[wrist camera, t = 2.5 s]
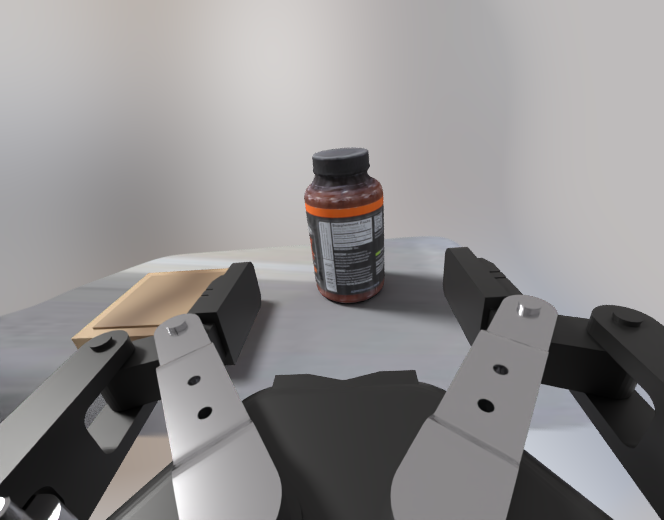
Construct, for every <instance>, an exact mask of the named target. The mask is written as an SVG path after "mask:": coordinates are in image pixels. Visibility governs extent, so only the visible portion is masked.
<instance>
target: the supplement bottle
mask: <svg viewBox="0 0 664 520" xmlns="http://www.w3.org/2000/svg"><path fill="white" fill-rule="evenodd" d="M312 159H313V172H314V174H315V178H314V180H313V182H312V184H311V185H309V186H308V188H307V189H306V192H305V196H304V199H305V206H306V214H307V221H308V229H309V236H310V241H311V249H312V256H313V264H314V270H315V278H316V282H317V287H318V290H319V291H320V293H321V294H322V295H323V296H324V297H326V298H328V299H330V300H333V301H336V302H341V303H353V302H354V303H355V302H360V301H364V300H368V299H369V298H371V297H373V296H374V295H376V294H377V293H378V292H379V291H380V290H381V289H382V287H383V284H384V218H383V217H384V213H383V211H384V206H383V190H382V186H381V184H380V183H379V182H378V181H377V180H376V179H374V178H372V177H370V176H369V175H368V174H367V170H368V168H369V167H370V164H369V154H368V150H367V149H364V148H340V149H332V150H326V151H321V152H318V153H315V154H314V155H313V157H312Z"/></svg>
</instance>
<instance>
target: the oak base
mask: <svg viewBox="0 0 664 520" xmlns="http://www.w3.org/2000/svg"><path fill="white" fill-rule="evenodd" d="M228 269H229V268H227V269H210V270H193V271H176V272H159V273H148V274H147V275H146V276H145V277H144V278H142V279H141V280H140V281H139V282H138V283H136V284H135V285H134V286H133V287H132V288H131V289H129V290H128V291H127V292H126V293H125V294H123V295H122V296H121V297H120V298H119V299H118V300H116V301H115V302H114V303H113V304H112V305H110V306H109V307H108V308H107V309H106V310H105V311H103V312H102V313H101V314H100V315H99V316H97V317H96V318H95V319H94V320H93V321H92V322H90V323H89V324H88V325H87V326H86V327H84V328H83V329H82V330H81V331H80V332H79V333H77V334H76V335H75V336H74V337H73V338H71V339H72V341H73V342H74V344H75V345H76V347H77V348H78V349H79V348H80V347H81V346H82V345H84V344H85V343H86V342H88V341H89V340H91V339H92V338H94V337H96V336H98V335H101V334H103V333H106V332H109V331H114V330H123V331H126V332H127V333H128V335H129V337H130V339H131V341H134V340H138V339H142V338H146V337H150V336H154V332H155V330H156V329H157V327H158V326H159V325H160V324H162V323H163V322H165V321H166V320H168V319H170V318H172V317H174V316H177V315H181V314H187V313H188V311H189V310H190V309H191V307H192V306H193V305H194V304H195V302H196V301H197V300H198V299H199V297H201V295H202V293H203V292H204V291H206V288H207V287H208V286H209V285H210V283H211V282H212V281H214V280H215V279H216V278H218V277H219V276H221V275H224V274H225V273H226V271H227V270H228Z"/></svg>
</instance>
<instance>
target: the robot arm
mask: <svg viewBox="0 0 664 520" xmlns="http://www.w3.org/2000/svg"><path fill="white" fill-rule="evenodd" d="M443 290H444V295H445V297H446V299H447V301H448V303H449V305H450V307H451V309H452V311H453V313H454V315H455V317H456V319H457V320H458V322H459V324H460V326H461V328H462V330H463V332H464V334H465V336H466V338H467V340H468V342H469V343H470V345H471V348H470V350H469V352H468V354H467V355H466V357H465V359H464V361H463V363H462V364H461V366H460V368H459V370H458V372H457V373H456V375H455V377H454V379H453V381H452V382H451V384H450V386H449V388H448V390H447V391H445V390H443V389H441V388H438V387H436V386H433V385H430V384H427V383H423V382H418V379H417V375H416V371H415V370H406V371H380V372H376V373H372V374H368V375H364V376H360V377H356V378H352V379H348V380H338V379H333V378H327V377H322V376H316V375H311V374H297V375H275V379H274V383H273V386H272V387H269V388H266V389H264V390H261V391H259V392H256V393H254V394H252V395H251V396H249V397H247V398H246V399H244V400H243V401H241V399H240V397H239V395H238V393H237V391H236V389H235V387H234V385H233V383H232V381H231V379H230V377H229V375H228V373H227V370H226V368H225V366H224V365H235V363H236V360H237V358H238V356H239V354H240V351H241V349H242V347H243V345H244V342H245V340H246V338H247V335H248V333H249V331H250V329H251V326H252V324H253V322H254V320H255V317H256V315H257V313H258V311H259V308H260V305H261V294H260V289H259V285H258V281H257V277H256V273H255V269H254V266H253V264H252V263H251V262H242V263H233V264H232V265H231V266H230V267H229V269H228V270H227V271H226V273H225V274H224V275H221V276H219V277H218V278H216V279H215V280H214V281H212V282H211V283H210V285H209V286H208V287H207V288H206V291H204V292H203V293H202V295H201V297H199V299H198V300H197V301H196V302H195V304H194V305H193V306H192V307H191V309H190V310H189V311H188V313H187V314H181V315H177V316H174V317H172V318H170V319H168V320H166V321H165V322H163V323H162V324H160V325H159V326H158V327H157V329H156V330H155V332H154V336H150V337H146V338H142V339H138V340H134V341H131V339H130V337H129V335H128V333H127V332H126V331H123V330H114V331H109V332H106V333H103V334H101V335H98V336H96V337H94V338H92V339H91V340H89V341H88V342H86V343H85V344H84V345H82V346H81V347H80V348H79V349H78V350H77V351H76V352H75V353H74V354H73V355H72V356H71V357H70V358H69V359H68V360H67V361H66V362H64V363H63V364H62V365H61V366H60V367H59V368H58V369H57V370H56V371H55V372H54V373H53V374H52V375H51V376H50V377H49V378H48V379H47V380H46V381H45V382H44V383H42V384H41V385H40V386H39V387H38V388H37V389H36V390H35V391H34V392H33V393H32V394H31V395H30V396H29V397H28V398H27V399H26V400H25V401H24V402H23V403H22V404H20V405H19V406H18V407H17V408H16V409H15V410H14V411H13V412H12V413H11V414H10V415H9V416H8V417H7V418H6V419H5V420H4V421H3V422H2V423H1V424H0V520H88V519H89V518H90V516H91V514H92V513H93V511H94V509H95V508H96V506H97V504H98V502H99V501H100V499H101V497H102V496H103V494H104V492H105V491H106V489H107V487H108V485H109V484H110V482H111V480H112V479H113V477H114V475H115V473H116V472H117V470H118V468H119V467H120V465H121V463H122V461H123V460H124V458H125V456H126V454H127V453H128V451H129V450H130V448H131V446H132V444H133V443H134V441H135V439H136V438H137V436H138V434H139V432H140V431H141V429H142V427H143V426H144V424H145V422H146V420H147V419H148V417H149V415H150V414H151V412H152V410H153V409H154V407H155V405H156V403H157V401H158V400H162V404H163V410H164V415H165V420H166V426H167V431H168V437H169V442H170V447H171V453H172V458H173V461H172V462H171V463H170V464H169V465H168V466H166V467H165V468H164V469H163V470H162V471H161V472H160V473H159V474H157V475H156V476H155V477H154V478H153V479H152V480H150V481H149V482H148V483H147V484H146V485H145V486H144V487H143V488H141V489H140V490H139V491H138V492H137V493H136V494H135V495H134V496H132V497H131V498H130V499H129V500H128V501H127V502H125V503H124V504H123V505H122V506H121V507H120V508H119V509H117V510H116V511H115V512H114V513H113V514H112V515H111V516H110V517H108V518H107V519H106V520H613V519H612V518H611V517H610V516H608V515H607V514H606V513H604V512H603V511H602V510H601V509H599V508H598V507H597V506H596V505H594V504H593V503H592V502H590V501H589V500H588V499H587V498H585V497H584V496H583V495H581V494H580V493H579V492H578V491H576V490H575V489H574V488H573V487H571V486H570V485H569V484H568V483H566V482H565V481H563V480H562V479H561V478H560V477H559V476H557V475H556V474H555V473H553V472H552V471H551V470H550V469H548V468H547V467H546V466H544V465H543V464H542V463H541V462H539V461H538V460H537V459H536V458H534V457H533V456H532V455H530V454H529V453H528V452H527V451H525V450H524V445H525V441H526V438H527V434H528V430H529V426H530V422H531V418H532V414H533V411H534V407H535V403H536V399H537V395H538V391H539V388H540V384H545V385H550V386H554V387H559V388H564V389H569V391H570V392H571V394H572V395H573V396H574V398H575V399H576V401H577V402H578V403H579V405H580V406H581V408H582V409H583V410H584V412H585V413H586V415H587V416H588V417H589V419H590V420H591V422H592V423H593V424H594V426H595V427H596V429H597V430H598V431H599V433H600V434H601V436H602V437H603V439H604V440H605V441H606V443H607V444H608V445H609V447H610V448H611V449H612V451H613V453H614V454H615V455H616V457H617V458H618V459H619V461H620V462H621V464H622V465H623V467H624V468H625V469H626V470H627V472H628V474H629V475H630V476H631V478H632V479H633V481H634V482H635V483H636V485H637V486H638V488H639V489H640V490H641V492H642V493H643V495H644V496H645V497H646V499H647V500H648V502H649V503H650V504H651V506H652V507H653V509H654V510H655V512H656V513H657V514H658V516H659V517H660V518H661V520H664V326H663V325H662V324H660V323H659V322H658V321H656V320H655V319H653V318H652V317H650V316H648V315H646V314H644V313H642V312H639V311H636V310H634V309H630V308H626V307H621V306H615V305H602V306H598V307H596V308H594V309H593V311H592V313H591V316H590V319H585V318H578V317H570V316H563V315H558V313H557V310H556V309H555V308H554V307H553V306H552V305H551V304H550V303H548V302H546V301H544V300H542V299H539V298H536V297H533V296H527V295H523V294H522V293H521V292H520V291H519V290H518V289H517V288H516V287H515V286H514V285H513V284H512V283H511V282H510V280H508V279H507V278H506V276H505V275H504V274H503V273H502V272H500V270H499V269H498V268H497V267H496V266H495V265H494V264H493V263H491V262H489V261H487V260H485V259H483V258H477V257H476V256H475V255H474V254H473V253H472V251H470V249H469V248H468V247H458V248H447V249H446V252H445V263H444V276H443ZM637 383H638V384H639V385H640V386H641V387H642V388H643V389H644V390H645V391H646V392H647V393H648V395H649V396H650V398H651V399H652V401H653V404H654V407H655V411H654V409H653V408H652V407H651V406H650V405H649V404H648V403H647V402H646V401H645V400H644V399H643V398H642V397H641V396H640V395H639V394H638V393H637V392H636V390H635V387H636V385H637ZM100 393H101V395H102V396H103V398H104V399H105V401H106V403H107V404H106V405H105V406H104V408H103V409H102V410H101V412H100V413H99V414H98V416H97V417H96V418H95V420H94V421H93V422H92V423H91V425H90V426H89V427H88V429H86V427H85V424H84V418H85V414H86V412H87V410H88V408H89V407H90V405H91V404H92V403H93V402H94V400H95V399H96V398H97V397H98V396H99V394H100Z"/></svg>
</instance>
